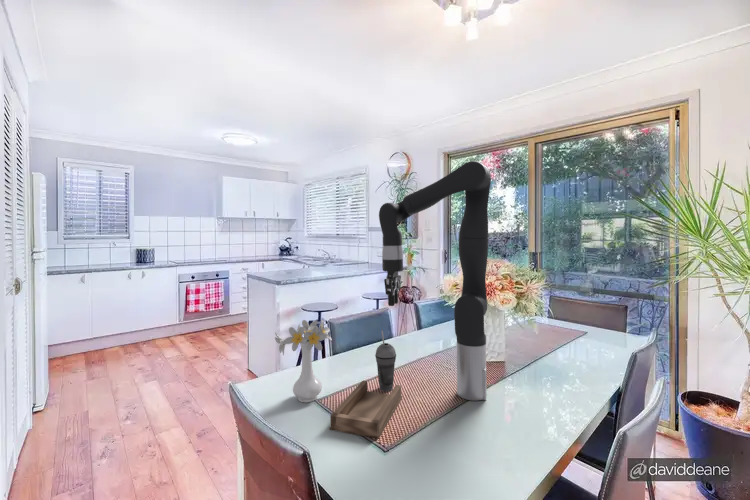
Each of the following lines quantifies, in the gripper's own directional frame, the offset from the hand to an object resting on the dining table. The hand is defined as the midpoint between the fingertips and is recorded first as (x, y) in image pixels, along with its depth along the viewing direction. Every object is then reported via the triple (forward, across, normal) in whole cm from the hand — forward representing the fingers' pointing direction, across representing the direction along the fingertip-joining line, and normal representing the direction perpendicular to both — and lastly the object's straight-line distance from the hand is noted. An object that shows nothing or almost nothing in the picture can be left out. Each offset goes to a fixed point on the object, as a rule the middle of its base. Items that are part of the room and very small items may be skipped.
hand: (393, 304), depth 127 cm
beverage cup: (+27, -10, 0) cm, 29 cm away
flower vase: (+27, -25, +22) cm, 43 cm away
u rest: (+27, -27, 0) cm, 38 cm away
